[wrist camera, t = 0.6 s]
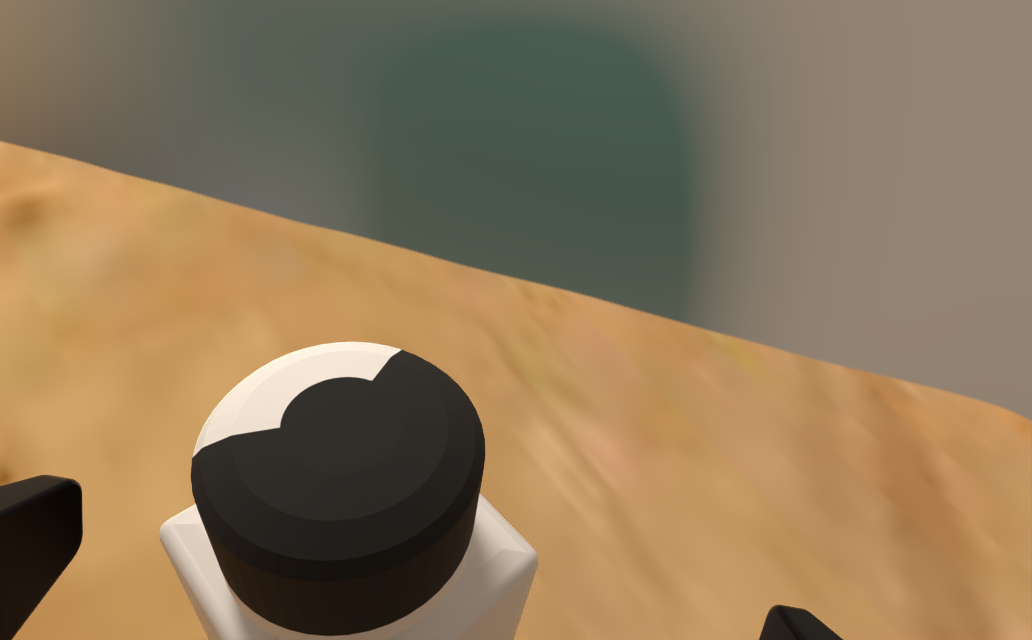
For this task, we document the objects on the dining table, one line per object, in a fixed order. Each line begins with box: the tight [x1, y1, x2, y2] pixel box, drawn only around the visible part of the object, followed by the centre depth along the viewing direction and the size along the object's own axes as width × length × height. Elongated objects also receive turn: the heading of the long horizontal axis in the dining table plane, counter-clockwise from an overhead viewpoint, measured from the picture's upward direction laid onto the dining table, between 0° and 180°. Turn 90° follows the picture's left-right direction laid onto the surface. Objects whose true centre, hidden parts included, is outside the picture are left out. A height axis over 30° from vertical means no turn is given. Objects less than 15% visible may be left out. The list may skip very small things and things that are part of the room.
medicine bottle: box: [159, 342, 538, 640], centre depth 17 cm, size 7×7×12 cm
